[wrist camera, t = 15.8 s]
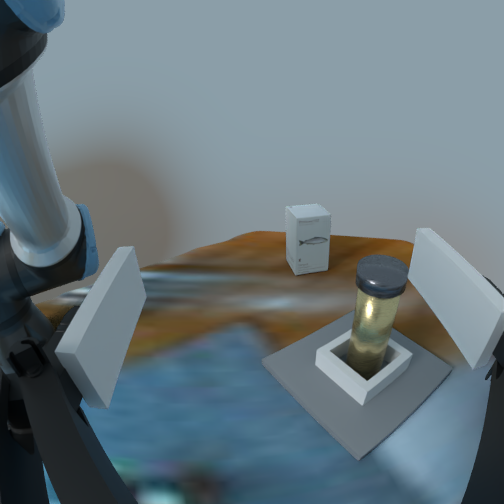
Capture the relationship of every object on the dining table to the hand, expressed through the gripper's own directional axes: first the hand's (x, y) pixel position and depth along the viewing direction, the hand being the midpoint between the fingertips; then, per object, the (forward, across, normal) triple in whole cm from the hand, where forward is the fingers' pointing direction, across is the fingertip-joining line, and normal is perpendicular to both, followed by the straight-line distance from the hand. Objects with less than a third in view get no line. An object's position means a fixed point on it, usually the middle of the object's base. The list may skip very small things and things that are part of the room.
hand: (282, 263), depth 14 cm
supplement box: (+45, +11, -28) cm, 54 cm away
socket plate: (+14, +13, -27) cm, 33 cm away
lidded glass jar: (+14, +13, -26) cm, 33 cm away
